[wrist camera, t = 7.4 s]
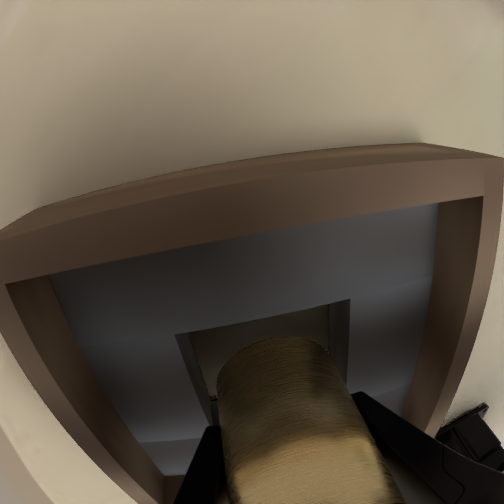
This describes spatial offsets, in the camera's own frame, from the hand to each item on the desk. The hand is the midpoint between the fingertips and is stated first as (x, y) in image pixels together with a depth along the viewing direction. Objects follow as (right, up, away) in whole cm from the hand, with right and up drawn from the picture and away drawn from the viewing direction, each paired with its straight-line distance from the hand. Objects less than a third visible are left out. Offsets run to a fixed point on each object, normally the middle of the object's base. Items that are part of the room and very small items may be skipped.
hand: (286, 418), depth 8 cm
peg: (0, +1, +1) cm, 2 cm away
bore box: (-1, +1, +3) cm, 4 cm away
